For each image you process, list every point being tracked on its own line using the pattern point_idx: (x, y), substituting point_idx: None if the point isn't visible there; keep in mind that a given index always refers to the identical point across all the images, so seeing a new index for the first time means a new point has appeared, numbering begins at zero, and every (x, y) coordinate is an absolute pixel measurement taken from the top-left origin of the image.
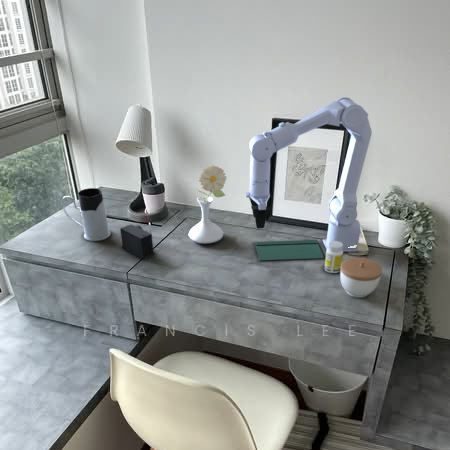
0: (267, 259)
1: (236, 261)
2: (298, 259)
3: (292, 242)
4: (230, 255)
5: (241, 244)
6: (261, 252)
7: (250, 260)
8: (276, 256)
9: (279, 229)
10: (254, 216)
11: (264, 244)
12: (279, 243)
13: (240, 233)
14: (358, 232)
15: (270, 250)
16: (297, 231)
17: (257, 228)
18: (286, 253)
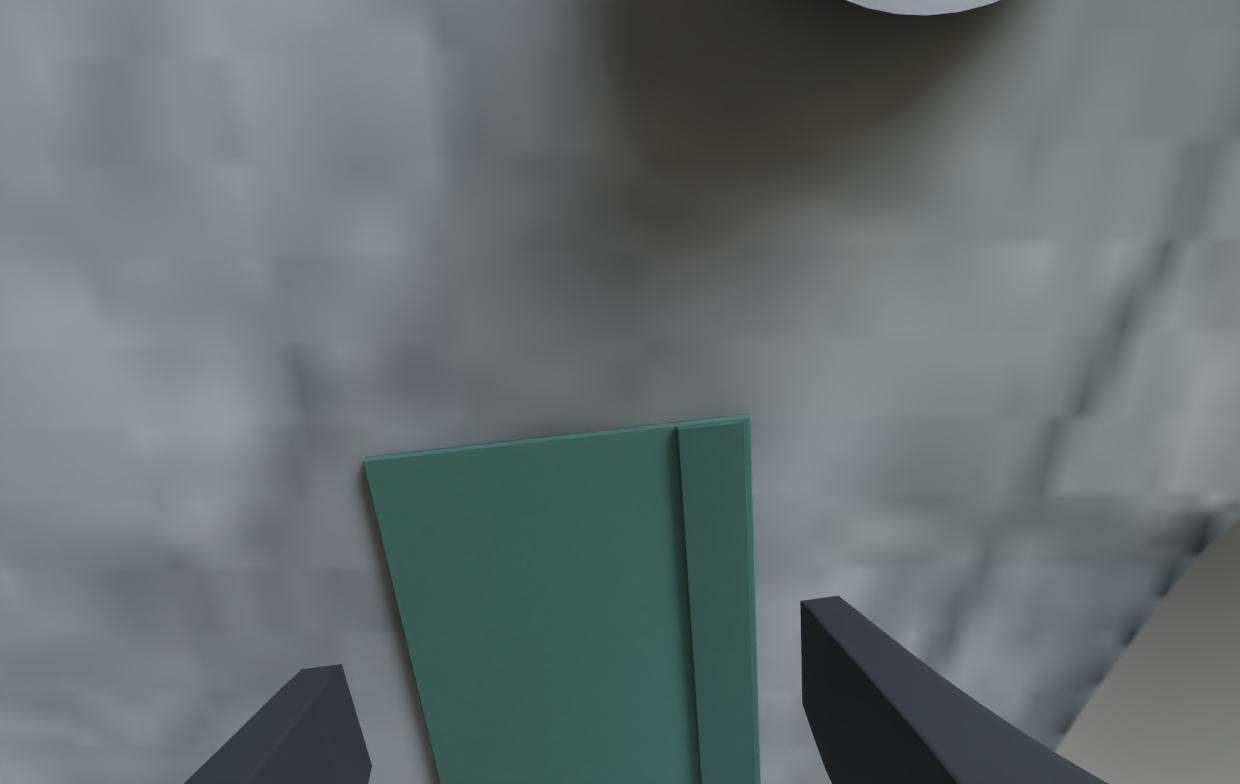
0: (387, 536)
1: (319, 215)
2: (439, 765)
3: (720, 738)
4: (455, 137)
5: (728, 266)
6: (530, 480)
7: (366, 370)
8: (459, 611)
9: (1015, 627)
10: (810, 622)
11: (686, 511)
12: (703, 640)
13: (996, 250)
14: None
15: (576, 561)
16: None
17: (295, 678)
18: (525, 688)
